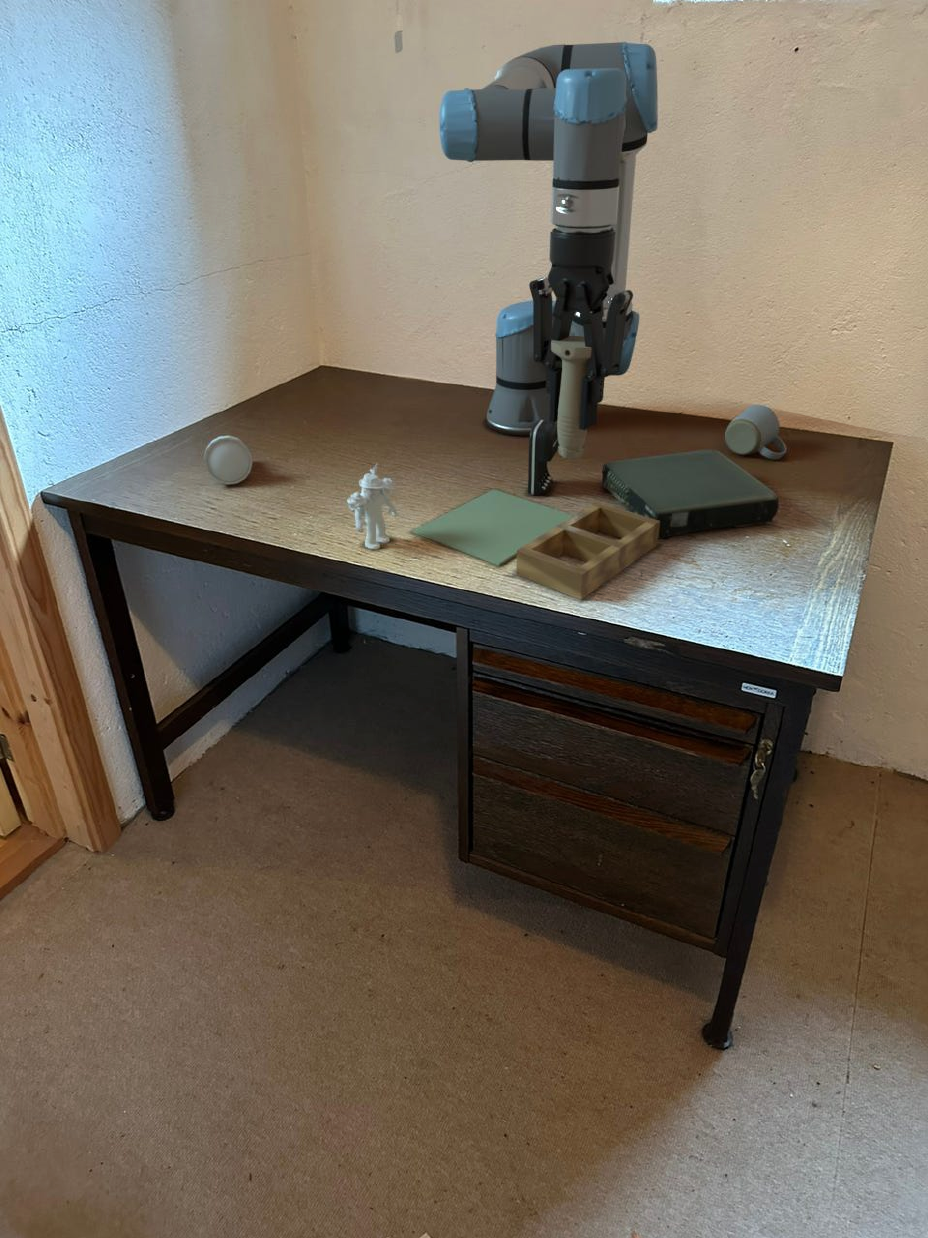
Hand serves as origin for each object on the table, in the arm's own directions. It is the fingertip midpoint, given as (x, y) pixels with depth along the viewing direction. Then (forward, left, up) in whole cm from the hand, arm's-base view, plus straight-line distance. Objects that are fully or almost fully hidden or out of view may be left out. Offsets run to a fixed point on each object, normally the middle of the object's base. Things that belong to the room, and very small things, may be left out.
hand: (572, 422), depth 111 cm
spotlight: (+10, -66, -22) cm, 70 cm away
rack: (-4, +1, -22) cm, 22 cm away
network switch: (-29, +3, -22) cm, 37 cm away
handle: (0, 0, -5) cm, 5 cm away
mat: (-4, -16, -22) cm, 27 cm away
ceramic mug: (-58, +2, -22) cm, 62 cm away
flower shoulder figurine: (+12, -27, -22) cm, 36 cm away
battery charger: (-20, -19, -22) cm, 35 cm away
